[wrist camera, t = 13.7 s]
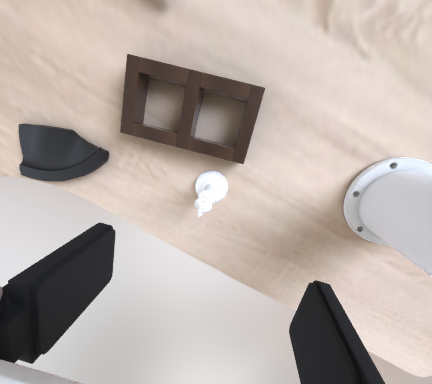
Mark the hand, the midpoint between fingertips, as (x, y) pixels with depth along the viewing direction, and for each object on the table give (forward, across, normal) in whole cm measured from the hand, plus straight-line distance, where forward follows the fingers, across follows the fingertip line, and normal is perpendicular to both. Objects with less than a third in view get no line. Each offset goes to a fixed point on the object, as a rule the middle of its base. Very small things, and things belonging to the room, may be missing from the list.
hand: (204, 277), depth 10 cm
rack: (+22, +7, -7) cm, 24 cm away
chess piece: (+22, +2, +2) cm, 22 cm away
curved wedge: (+21, +26, +3) cm, 34 cm away
